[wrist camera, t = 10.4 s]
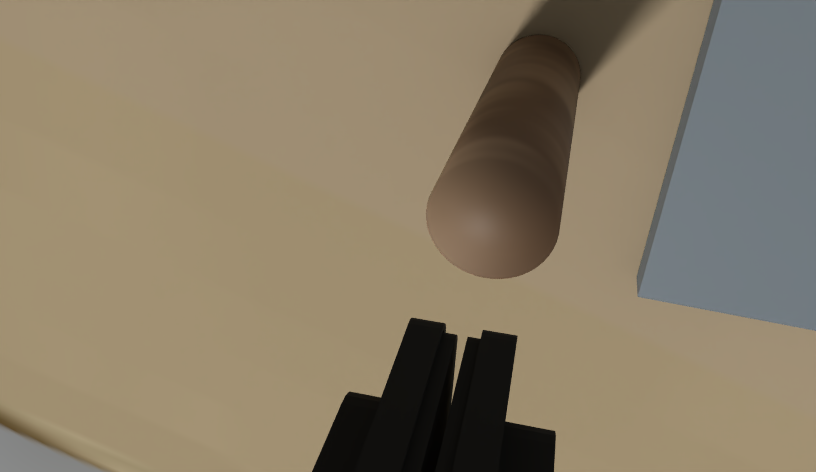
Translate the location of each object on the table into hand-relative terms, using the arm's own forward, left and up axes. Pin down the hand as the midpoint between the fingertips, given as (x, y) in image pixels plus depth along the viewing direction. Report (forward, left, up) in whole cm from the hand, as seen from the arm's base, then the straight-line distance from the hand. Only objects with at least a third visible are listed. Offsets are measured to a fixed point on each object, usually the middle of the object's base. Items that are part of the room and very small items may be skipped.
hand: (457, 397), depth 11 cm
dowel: (0, 0, -18) cm, 18 cm away
